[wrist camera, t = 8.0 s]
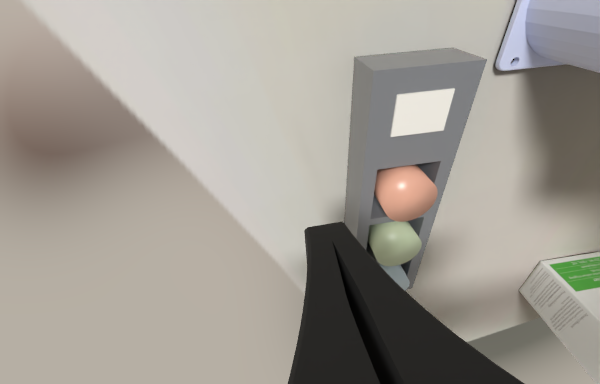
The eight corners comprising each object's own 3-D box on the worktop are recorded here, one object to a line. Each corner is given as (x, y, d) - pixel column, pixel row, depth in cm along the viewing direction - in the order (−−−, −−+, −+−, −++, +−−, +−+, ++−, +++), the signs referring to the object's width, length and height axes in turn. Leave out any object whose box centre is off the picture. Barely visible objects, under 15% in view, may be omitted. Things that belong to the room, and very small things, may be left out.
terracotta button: (419, 151, 20) (443, 175, 17) (410, 191, 22) (430, 217, 20) (370, 157, 19) (388, 183, 17) (366, 197, 22) (381, 225, 19)
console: (452, 47, 17) (488, 60, 14) (398, 262, 29) (412, 289, 27) (354, 56, 16) (374, 71, 14) (341, 272, 29) (350, 300, 26)
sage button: (407, 204, 23) (426, 230, 20) (399, 234, 25) (416, 262, 22) (364, 210, 22) (379, 238, 20) (361, 241, 24) (373, 269, 22)
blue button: (397, 245, 26) (413, 272, 23) (391, 269, 28) (405, 296, 25) (359, 251, 25) (371, 279, 23) (357, 275, 27) (367, 303, 25)
